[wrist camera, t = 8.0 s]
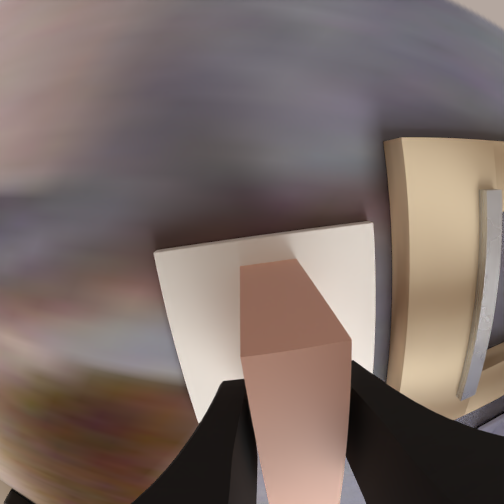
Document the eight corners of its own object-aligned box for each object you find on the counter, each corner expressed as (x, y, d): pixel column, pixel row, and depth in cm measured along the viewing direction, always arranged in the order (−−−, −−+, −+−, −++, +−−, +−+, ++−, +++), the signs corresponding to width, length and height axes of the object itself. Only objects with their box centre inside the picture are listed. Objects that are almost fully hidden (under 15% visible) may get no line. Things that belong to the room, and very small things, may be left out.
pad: (367, 390, 13) (370, 396, 13) (199, 416, 13) (198, 422, 13) (368, 220, 11) (373, 222, 11) (156, 249, 11) (153, 252, 11)
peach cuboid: (306, 392, 13) (339, 504, 7) (260, 399, 12) (271, 515, 7) (296, 258, 11) (351, 339, 5) (239, 266, 11) (240, 357, 5)
